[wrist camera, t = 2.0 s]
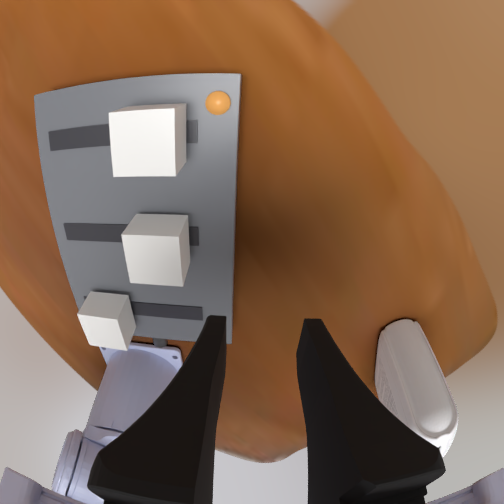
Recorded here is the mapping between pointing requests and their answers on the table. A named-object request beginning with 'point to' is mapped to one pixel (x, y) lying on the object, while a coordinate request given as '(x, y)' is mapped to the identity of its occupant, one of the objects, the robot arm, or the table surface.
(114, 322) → the switch
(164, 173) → the switch
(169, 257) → the switch middle
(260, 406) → the table surface
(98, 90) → the switch panel
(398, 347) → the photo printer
